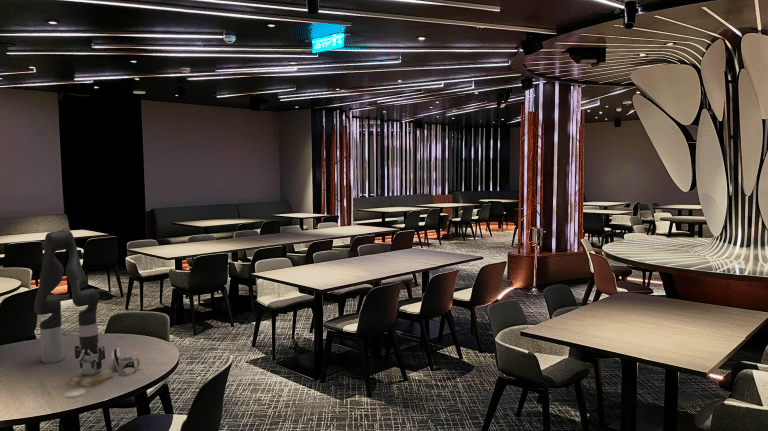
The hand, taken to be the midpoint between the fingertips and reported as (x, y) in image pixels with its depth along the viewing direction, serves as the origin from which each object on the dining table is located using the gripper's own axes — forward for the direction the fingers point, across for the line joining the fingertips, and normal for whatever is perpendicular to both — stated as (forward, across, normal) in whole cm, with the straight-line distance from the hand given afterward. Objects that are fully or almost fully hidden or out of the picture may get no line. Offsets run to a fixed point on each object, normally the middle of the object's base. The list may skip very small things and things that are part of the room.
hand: (91, 368), depth 255 cm
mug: (+6, +10, +13) cm, 17 cm away
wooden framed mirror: (+6, 0, 0) cm, 6 cm away
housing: (+3, 0, 0) cm, 3 cm away
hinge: (+6, 0, +19) cm, 20 cm away
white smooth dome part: (+6, +4, -14) cm, 16 cm away
